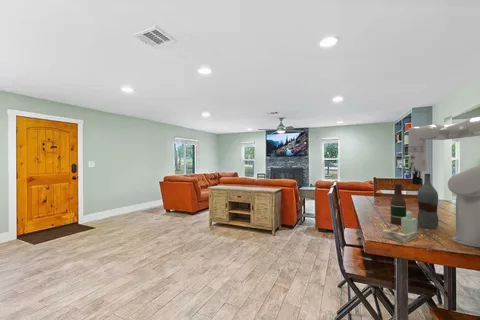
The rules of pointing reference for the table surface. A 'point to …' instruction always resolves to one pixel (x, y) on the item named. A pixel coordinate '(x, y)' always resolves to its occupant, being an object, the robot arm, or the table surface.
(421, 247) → the table surface
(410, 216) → the bottle
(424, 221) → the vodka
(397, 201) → the beer bottle
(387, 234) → the cradle
